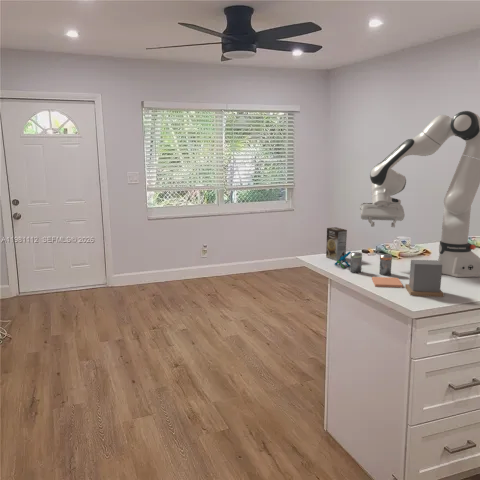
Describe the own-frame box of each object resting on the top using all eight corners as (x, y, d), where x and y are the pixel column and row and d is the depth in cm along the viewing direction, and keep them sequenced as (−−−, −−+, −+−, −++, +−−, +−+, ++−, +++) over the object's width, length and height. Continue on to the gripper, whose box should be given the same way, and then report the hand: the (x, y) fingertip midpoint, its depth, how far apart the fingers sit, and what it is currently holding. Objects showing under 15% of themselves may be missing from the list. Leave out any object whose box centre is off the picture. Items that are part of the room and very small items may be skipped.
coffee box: (325, 257, 230) (326, 227, 226) (334, 255, 232) (335, 226, 229) (336, 260, 222) (337, 230, 218) (346, 259, 224) (347, 229, 221)
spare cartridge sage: (360, 270, 203) (361, 252, 201) (361, 273, 198) (362, 254, 196) (349, 270, 203) (350, 251, 202) (350, 273, 198) (351, 254, 197)
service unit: (436, 288, 174) (438, 259, 172) (443, 296, 164) (445, 265, 162) (405, 287, 176) (407, 258, 174) (410, 295, 167) (412, 264, 164)
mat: (397, 280, 187) (397, 277, 187) (402, 287, 176) (402, 285, 176) (371, 279, 189) (371, 276, 189) (375, 286, 178) (375, 284, 178)
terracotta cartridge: (390, 272, 198) (391, 254, 197) (391, 275, 193) (393, 256, 192) (378, 272, 199) (379, 253, 198) (380, 275, 194) (381, 256, 192)
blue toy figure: (339, 259, 219) (352, 247, 212) (347, 267, 217) (360, 257, 211) (329, 266, 211) (341, 254, 204) (337, 275, 209) (350, 264, 203)
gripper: (360, 198, 211) (361, 221, 203) (403, 200, 207) (406, 223, 200) (359, 206, 216) (359, 229, 208) (401, 207, 212) (403, 230, 205)
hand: (382, 226), depth 204 cm, fingers open, 8 cm apart
